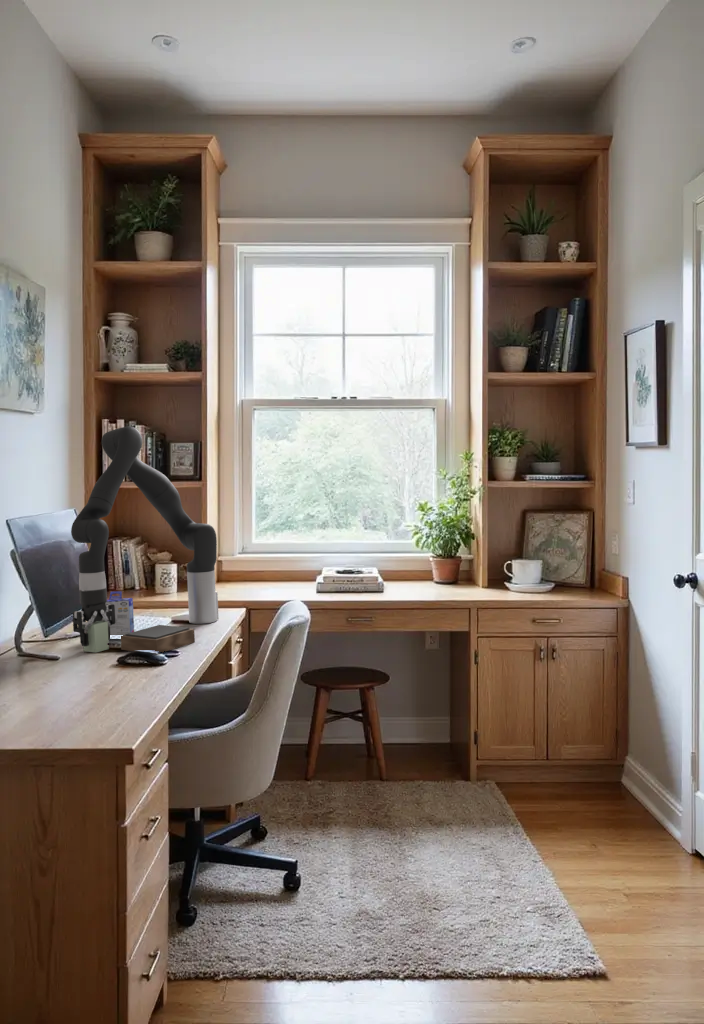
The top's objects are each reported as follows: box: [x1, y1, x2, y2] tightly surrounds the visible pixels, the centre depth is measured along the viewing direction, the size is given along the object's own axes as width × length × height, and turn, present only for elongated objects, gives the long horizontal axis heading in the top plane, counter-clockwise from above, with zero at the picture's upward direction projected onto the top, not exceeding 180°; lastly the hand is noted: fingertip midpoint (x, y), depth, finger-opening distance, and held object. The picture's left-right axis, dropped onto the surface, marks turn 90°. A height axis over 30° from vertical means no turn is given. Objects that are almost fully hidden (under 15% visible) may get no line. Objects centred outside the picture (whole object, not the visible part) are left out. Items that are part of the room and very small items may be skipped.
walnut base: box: [120, 624, 196, 653], centre depth 243 cm, size 16×14×4 cm
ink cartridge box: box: [105, 590, 135, 635], centre depth 255 cm, size 10×6×14 cm, turn 92°
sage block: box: [82, 621, 110, 653], centre depth 241 cm, size 5×5×8 cm
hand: (95, 642), depth 241 cm, fingers open, 7 cm apart
